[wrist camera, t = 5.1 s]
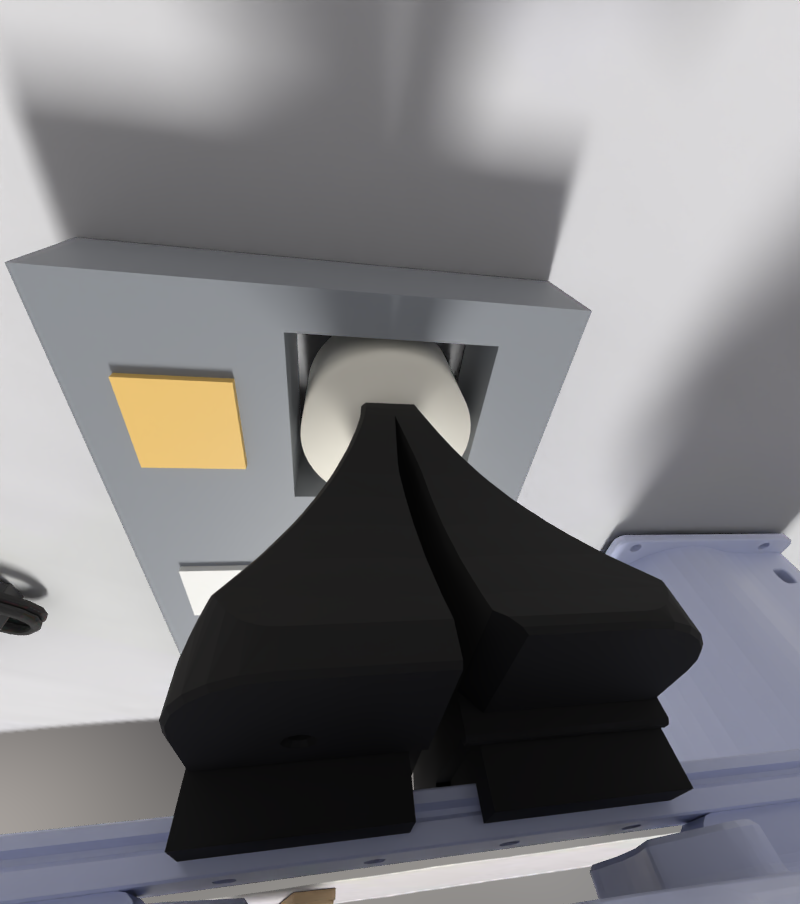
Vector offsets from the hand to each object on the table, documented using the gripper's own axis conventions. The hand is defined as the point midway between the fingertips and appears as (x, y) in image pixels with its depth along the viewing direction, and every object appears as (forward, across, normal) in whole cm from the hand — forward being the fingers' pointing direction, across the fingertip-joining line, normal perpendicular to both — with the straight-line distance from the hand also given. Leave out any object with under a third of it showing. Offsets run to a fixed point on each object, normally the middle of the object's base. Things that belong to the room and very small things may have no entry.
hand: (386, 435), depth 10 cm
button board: (+3, +2, +7) cm, 8 cm away
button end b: (+2, 0, 0) cm, 2 cm away
